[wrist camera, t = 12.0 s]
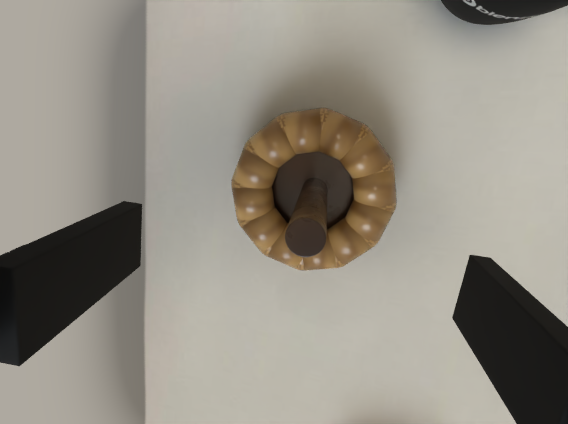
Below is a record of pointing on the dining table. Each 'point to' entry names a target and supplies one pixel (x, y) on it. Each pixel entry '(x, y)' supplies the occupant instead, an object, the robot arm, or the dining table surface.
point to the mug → (500, 9)
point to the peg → (311, 199)
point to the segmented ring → (335, 143)
